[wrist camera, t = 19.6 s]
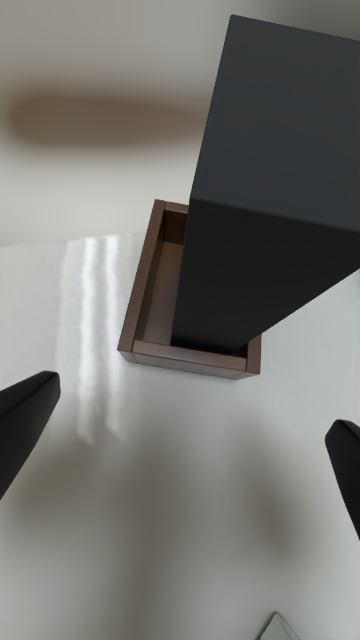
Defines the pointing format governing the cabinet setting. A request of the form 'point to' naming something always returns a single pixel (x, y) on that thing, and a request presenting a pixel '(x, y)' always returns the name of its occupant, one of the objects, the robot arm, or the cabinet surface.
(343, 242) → the black rectangular box
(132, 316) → the brown wooden tray
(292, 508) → the cabinet surface
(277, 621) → the small box
